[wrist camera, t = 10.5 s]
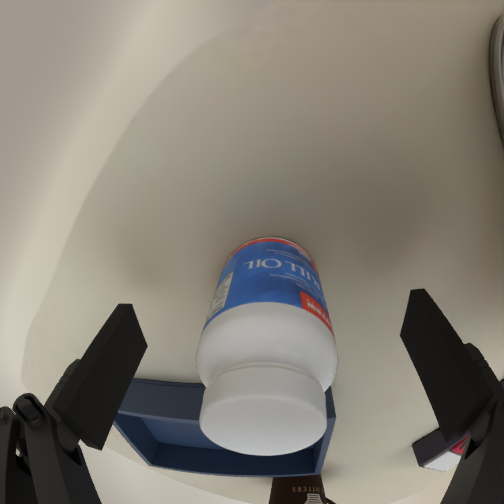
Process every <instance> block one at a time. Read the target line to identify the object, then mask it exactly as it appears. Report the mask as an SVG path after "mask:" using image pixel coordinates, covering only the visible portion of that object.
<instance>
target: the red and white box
mask: <svg viewBox="0 0 504 504" xmlns="http://www.w3.org/2000/svg"><path fill="white" fill-rule="evenodd" d="M500 384H501V386H502V388H503V389H504V380H503V381H501V382H500ZM469 436H470V433H469V431H468V430H467V431H466V432H465V433H464V435H463V436H462V437H461V438H458V439H456V440H453V441H450V442H448V443H445V440H444V437H443V434H442V432H441V430H436V431H434V432H432V433H431V434H429V435H428V436H426V437H425V438H423V439H421V440H420V441H418V442H417V443H415V444H414V445H413V446H412V448H413V451H414V453H415V456H416V459H417V462H418V465H419V466H420V467H424V468H428V469H433V470H437V471H446V470H448V469H450V468H451V467H453V466H454V465H456V464H458V463H459V461H460V458H461V456H462V453H463V450H464V447H465V446H464V447H463V448H462V449H461V450H459V448H460V446H461V445H462V444H463V442H464V441H465V440H466V439H467V438H468V437H469Z"/></svg>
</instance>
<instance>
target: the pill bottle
mask: <svg viewBox="0 0 504 504" xmlns="http://www.w3.org/2000/svg"><path fill="white" fill-rule="evenodd" d="M337 365H338V355H337V349H336V342H335V338H334V334H333V330H332V326H331V322H330V318H329V314H328V310H327V307H326V303H325V299H324V295H323V291H322V287H321V283H320V279H319V275H318V272H317V269H316V266H315V264H314V262H313V261H312V259H311V257H310V256H309V255H308V254H307V253H306V252H305V251H304V250H303V249H302V248H301V247H300V246H298V245H297V244H295V243H293V242H291V241H289V240H286V239H282V238H277V237H264V238H258V239H254V240H252V241H249V242H247V243H245V244H243V245H242V246H240V247H239V248H238V249H236V250H235V251H234V252H233V253H232V255H231V256H230V257H229V259H228V260H227V262H226V264H225V266H224V268H223V271H222V273H221V277H220V280H219V283H218V286H217V289H216V292H215V295H214V298H213V301H212V304H211V307H210V310H209V313H208V316H207V319H206V322H205V325H204V328H203V331H202V334H201V338H200V341H199V345H198V349H197V354H196V366H197V371H198V374H199V377H200V379H201V381H202V382H203V384H204V386H205V387H206V389H205V392H204V395H203V403H202V408H201V413H200V418H199V423H200V427H201V430H202V431H203V433H204V434H205V435H206V436H207V437H208V438H209V439H210V440H211V441H213V442H214V443H216V444H218V445H219V446H221V447H224V448H226V449H229V450H232V451H235V452H239V453H243V454H249V455H261V456H269V455H282V454H287V453H292V452H296V451H299V450H302V449H304V448H306V447H309V446H310V445H312V444H314V443H315V442H317V441H318V440H319V439H320V438H321V437H322V436H323V434H324V433H325V430H326V428H327V415H326V397H325V393H324V392H325V391H326V390H327V389H328V387H329V386H330V385H331V383H332V381H333V379H334V377H335V374H336V371H337Z"/></svg>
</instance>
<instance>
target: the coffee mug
mask: <svg viewBox="0 0 504 504" xmlns="http://www.w3.org/2000/svg"><path fill="white" fill-rule="evenodd" d="M327 503H328V504H336V503H334V502H333V501H331V500H329V499H328V498H326V497H325V492H324V488H323V483H322V479H321V474H318V475H306V476H291V477H273V482H272V488H271V494H270V500H269V504H327Z"/></svg>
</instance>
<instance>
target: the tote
mask: <svg viewBox="0 0 504 504" xmlns="http://www.w3.org/2000/svg"><path fill="white" fill-rule="evenodd" d="M205 389H206V387H205V386H204V384H190V383H175V382H163V381H152V380H143V379H135V378H133V379H132V381H131V383H130V385H129V388H128V390H127V392H126V394H125V397H124V399H123V401H122V403H121V406H120V408H119V410H118V413H117V415H116V417H115V420H114V422H113V425H114V426H115V428H116V429H117V430H118V431H119V432H120V434H121V435H122V436H123V437H124V438H125V440H126V441H127V442H128V443H129V444H130V445H131V447H132V448H133V449H134V450H135V451H136V452H137V453H138V454H139V456H140V457H141V458H142V459H143V460H144V461H145V462H146V463H147V464H148V465H149V466H153V467H158V468H163V469H169V470H175V471H182V472H189V473H197V474H206V475H218V476H233V477H291V476H306V475H318V474H320V472H321V469H322V466H323V463H324V459H325V456H326V453H327V449H328V446H329V442H330V438H331V435H332V431H333V427H334V423H335V419H336V414H335V408H334V402H333V396H332V391H331V385H330V386H329V387H328V389H327V390H326V391H325V392H324V393H325V397H326V415H327V428H326V430H325V433H324V434H323V436H322V437H321V438H320V439H319V440H318V441H317V442H315V443H314V444H312V445H310V446H309V447H306V448H304V449H302V450H299V451H296V452H292V453H287V454H282V455H269V456H261V455H249V454H243V453H239V452H235V451H232V450H229V449H226V448H224V447H221V446H219V445H218V444H216V443H214V442H213V441H211V440H210V439H209V438H208V437H207V436H206V435H205V434H204V433H203V431H202V430H201V427H200V423H199V418H200V413H201V408H202V403H203V395H204V392H205Z"/></svg>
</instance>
